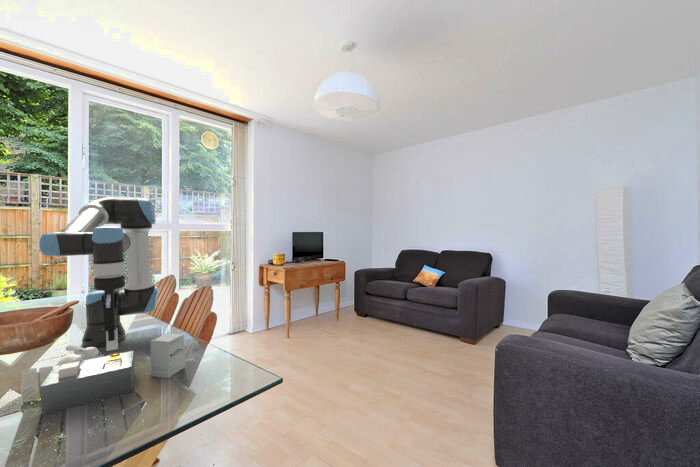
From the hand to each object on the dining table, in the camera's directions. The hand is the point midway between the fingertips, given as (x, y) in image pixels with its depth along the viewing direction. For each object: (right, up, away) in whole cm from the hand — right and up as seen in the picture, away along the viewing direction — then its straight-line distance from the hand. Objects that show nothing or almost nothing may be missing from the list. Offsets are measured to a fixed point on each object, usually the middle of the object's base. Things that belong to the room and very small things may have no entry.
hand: (112, 349), depth 94 cm
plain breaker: (-8, -8, -6) cm, 12 cm away
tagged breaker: (0, -10, 0) cm, 10 cm away
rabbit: (-18, -13, +8) cm, 24 cm away
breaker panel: (-5, -13, -1) cm, 14 cm away
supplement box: (+11, -13, +11) cm, 20 cm away
